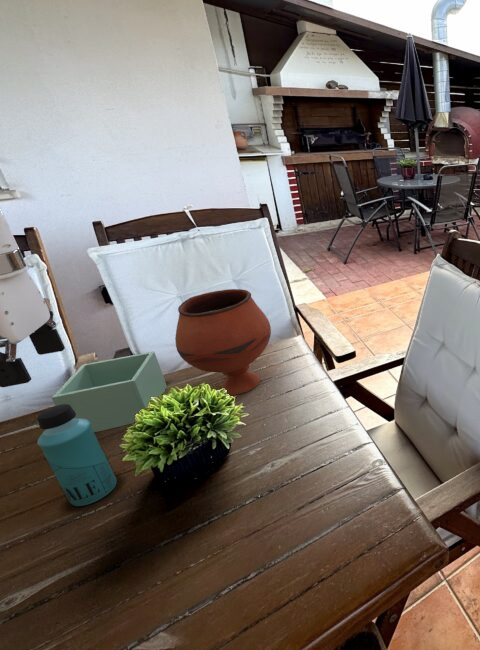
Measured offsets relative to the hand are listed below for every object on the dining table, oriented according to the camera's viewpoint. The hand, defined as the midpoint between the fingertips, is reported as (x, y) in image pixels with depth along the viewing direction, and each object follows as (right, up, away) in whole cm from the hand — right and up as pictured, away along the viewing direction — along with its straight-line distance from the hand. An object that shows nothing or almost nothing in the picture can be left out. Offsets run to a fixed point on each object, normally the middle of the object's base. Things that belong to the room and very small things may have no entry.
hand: (35, 367), depth 63 cm
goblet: (+4, -15, +41) cm, 44 cm away
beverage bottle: (-1, -27, +10) cm, 29 cm away
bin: (-18, -18, +32) cm, 41 cm away
